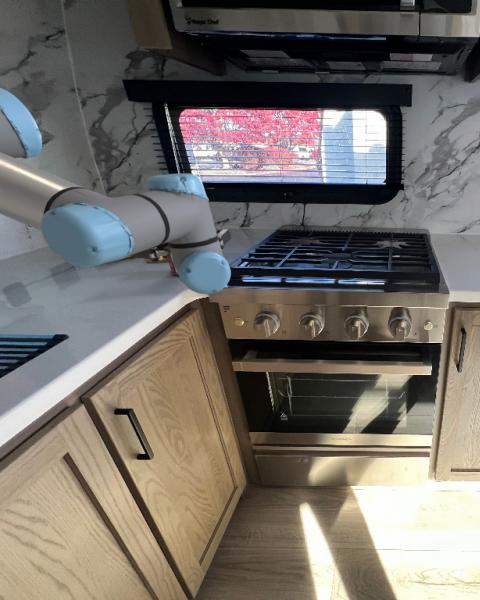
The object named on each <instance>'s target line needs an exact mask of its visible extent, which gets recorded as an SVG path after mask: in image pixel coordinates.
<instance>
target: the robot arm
mask: <svg viewBox="0 0 480 600" xmlns="http://www.w3.org/2000/svg"><path fill="white" fill-rule="evenodd" d="M28 109H29V108H27V106H25V104H24V103H23V102H22V101H21V100H19V98H18V97H16V96H15V95H14V94H12V92H10V91H8V90H6V89H4V88H2V87H0V215H1V216H4V217H7V218H9V219H12V220H14V221H16V222H18V223H21V224H23V225H26V226H29V227H31V228H33V229H36V230H37V231H40V232H41V234H42V237H43V239H44V241H45V243H46V244H47V245H48V247H49V248H50V250H52V252H53V253H54V254H59V255H60V257H61V259H62V260H63V261H65V262H66V263H67V264H70V265H73V266H75V267H80V268H92V267H93V268H94V267H97V266H100V265H104V264H108V263H114V262H119V261H120V260H123V259H126V258H125V257H127V258H129V257H128V256H131V257H134V258H139V259H144V260H148V259H149V260H151V261H152V262H151V263H158V262H157V261H159V259H161V258H160V257H161V256H167V257H170V258H171V260H172V262H173V264H174V266H175V268H176V269H177V271H178V274H179V275H178V277H179V280H180V282H181V283H183V285H185V286H186V288H187V289H189V290H190V291H192V292H194V293H197V294H200V295H211V294H216V293H218V292H220V291H222V290H223V289H224V288H225V287H226V286H227V285H228V283H229V282H230V280H231V275H232V270H231V267H230V265H229V262H228V260H227V259H226V257H224V254H223V251H222V250H223V249H225V245H226V244H227V243H229V241H230V240H231V239H232V237H231V232H230V229H229V228H228V227H225V228H223V229H222V230H221V229H220V228H216V226H215V222H214V218H213V215H212V211H211V207H210V204H209V201H210V200H209V198H208V196H207V193H206V190H205V187H204V183H203V181H202V179H201V178H200V177H199V176H198V175H196V174H194V173H166V174H158V175H152V176H149V177H148V178H147V180H146V183H147V190H148V191H144V192H140V193H133V194H128V195H127V194H126V195H121V196H115V197H114V196H113V197H111V196H107V195H104V194H101V193H99V192H96V191H94V190H91V189H88V188H87V187H83V186H82V185H79V184H76V183H74V182H72V181H69V180H67V179H64V178H62V177H60V176H58V175H55V174H53V173H51V172H48V171H45V170H43V169H41V168H39V167H36V166H34V165H31V164H29V163H27V162H24V161H22V160H20V158H21V159H24V160H25V159H26V160H28V159H30V158H34V157H37V156H38V155H39V154H41V152H42V148H43V139H42V134H41V132H40V129H39V126H38V123H37V122H36V120H35V118H34V117H33V115H32V114H31V112H30V111H29V110H28Z"/></svg>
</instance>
